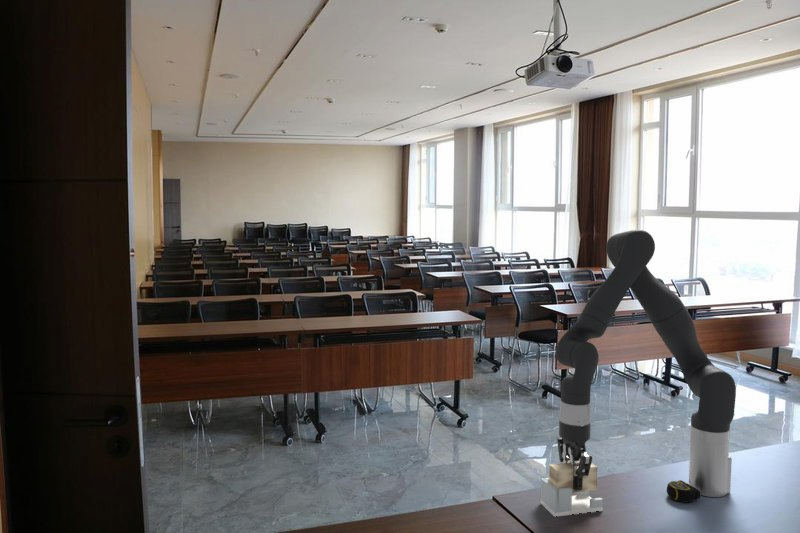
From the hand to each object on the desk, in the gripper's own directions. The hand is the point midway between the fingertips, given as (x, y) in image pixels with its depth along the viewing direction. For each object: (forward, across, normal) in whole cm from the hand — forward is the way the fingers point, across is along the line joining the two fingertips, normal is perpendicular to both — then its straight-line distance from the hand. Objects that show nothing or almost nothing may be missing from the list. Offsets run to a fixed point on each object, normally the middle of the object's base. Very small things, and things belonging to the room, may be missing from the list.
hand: (573, 485), depth 160 cm
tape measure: (+6, +2, +30) cm, 31 cm away
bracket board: (+5, 0, 0) cm, 5 cm away
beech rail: (+1, 0, 0) cm, 1 cm away
